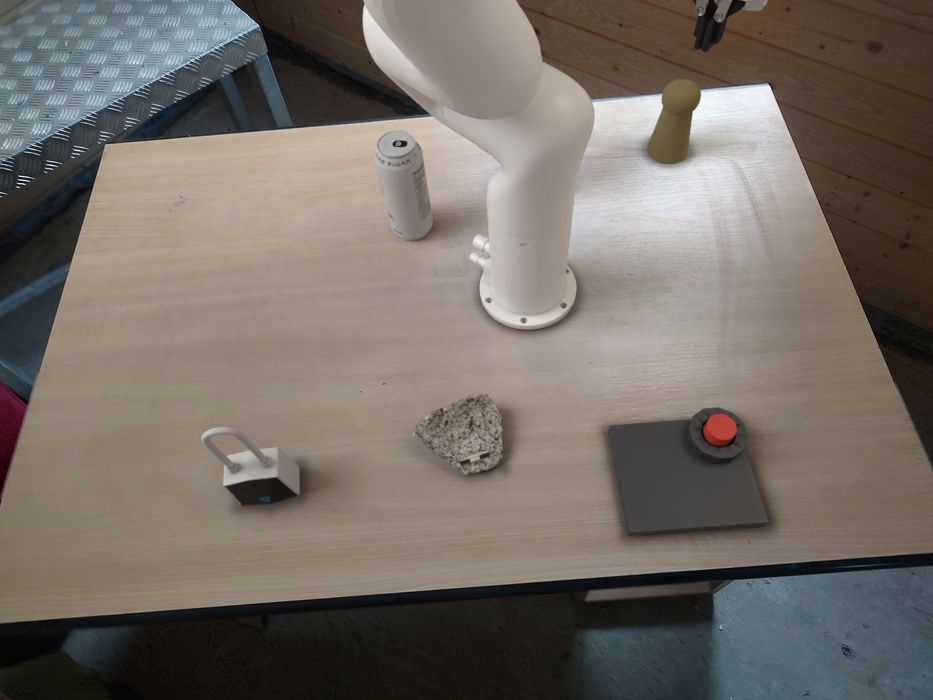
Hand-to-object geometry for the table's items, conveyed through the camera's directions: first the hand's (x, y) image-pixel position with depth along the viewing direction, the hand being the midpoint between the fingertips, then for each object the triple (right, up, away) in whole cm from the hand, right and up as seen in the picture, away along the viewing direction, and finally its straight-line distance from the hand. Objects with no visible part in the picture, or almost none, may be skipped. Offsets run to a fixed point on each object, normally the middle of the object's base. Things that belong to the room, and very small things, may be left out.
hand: (705, 44), depth 76 cm
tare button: (-2, -46, -9) cm, 47 cm away
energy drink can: (-37, -20, +13) cm, 44 cm away
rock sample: (-29, -48, -5) cm, 56 cm away
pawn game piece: (+1, -7, +18) cm, 20 cm away
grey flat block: (-6, -51, -9) cm, 52 cm away
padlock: (-51, -53, -6) cm, 74 cm away
